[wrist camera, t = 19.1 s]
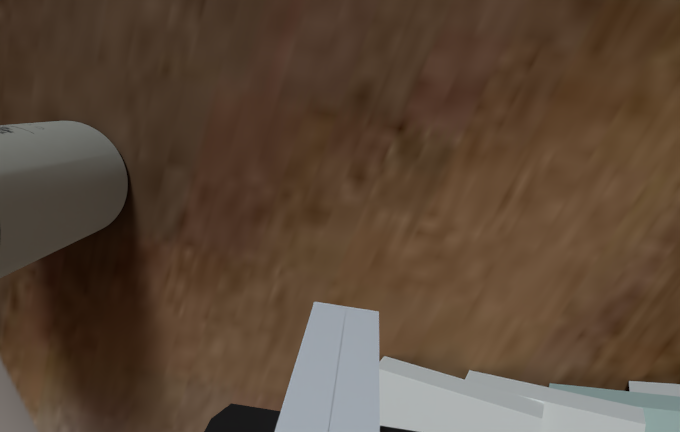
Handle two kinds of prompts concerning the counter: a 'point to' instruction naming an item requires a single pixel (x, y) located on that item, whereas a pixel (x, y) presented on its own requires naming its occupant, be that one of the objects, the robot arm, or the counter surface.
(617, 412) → the ivory domino
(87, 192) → the travel mug
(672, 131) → the counter surface
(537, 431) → the ivory domino
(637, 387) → the ivory domino
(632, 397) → the sage domino
